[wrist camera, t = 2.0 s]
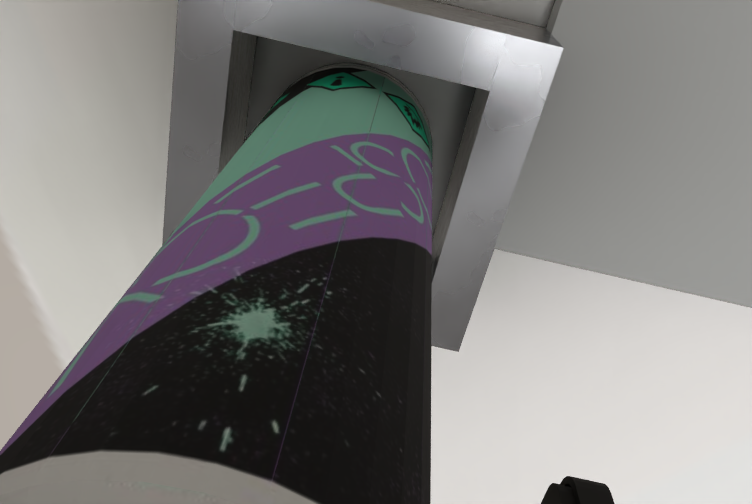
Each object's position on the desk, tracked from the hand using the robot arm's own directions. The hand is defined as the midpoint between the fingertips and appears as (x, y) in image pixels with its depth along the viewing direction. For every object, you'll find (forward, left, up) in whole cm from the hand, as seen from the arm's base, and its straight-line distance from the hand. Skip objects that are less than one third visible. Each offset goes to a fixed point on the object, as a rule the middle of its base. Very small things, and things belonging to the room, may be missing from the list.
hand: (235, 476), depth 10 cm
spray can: (-1, 0, -14) cm, 14 cm away
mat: (-5, +11, -14) cm, 18 cm away
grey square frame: (-1, 0, -14) cm, 14 cm away
